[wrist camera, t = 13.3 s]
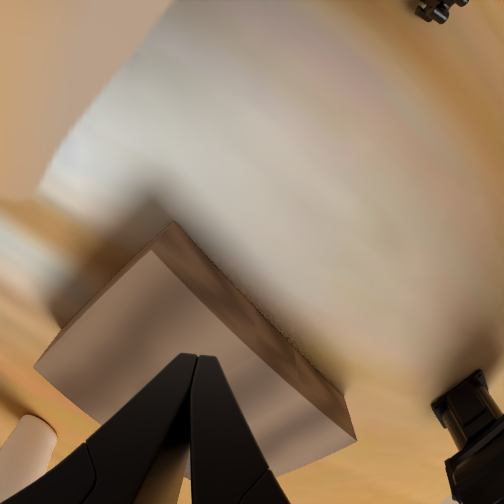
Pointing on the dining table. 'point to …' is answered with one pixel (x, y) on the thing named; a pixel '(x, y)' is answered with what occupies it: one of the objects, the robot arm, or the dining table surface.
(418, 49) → the dining table surface
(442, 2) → the valve
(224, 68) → the dining table surface
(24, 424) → the white cylindrical piece
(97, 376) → the walnut beam
